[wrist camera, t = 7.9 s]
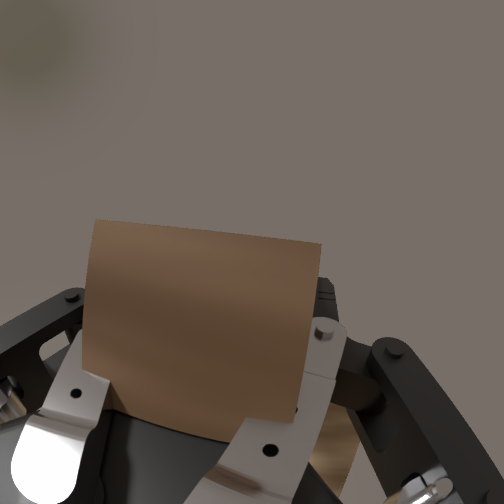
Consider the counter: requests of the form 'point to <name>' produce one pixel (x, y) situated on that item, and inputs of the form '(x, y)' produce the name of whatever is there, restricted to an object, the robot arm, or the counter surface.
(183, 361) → the brown wooden bar
